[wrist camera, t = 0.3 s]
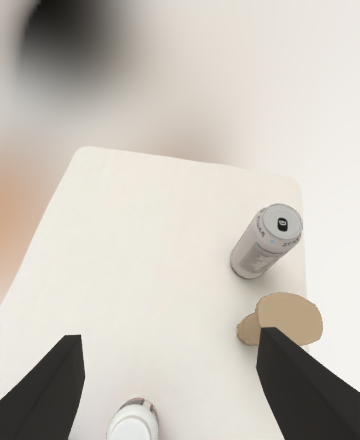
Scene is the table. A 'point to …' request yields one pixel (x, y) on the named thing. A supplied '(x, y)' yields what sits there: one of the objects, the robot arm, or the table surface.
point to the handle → (283, 319)
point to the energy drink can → (266, 240)
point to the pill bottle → (134, 421)
